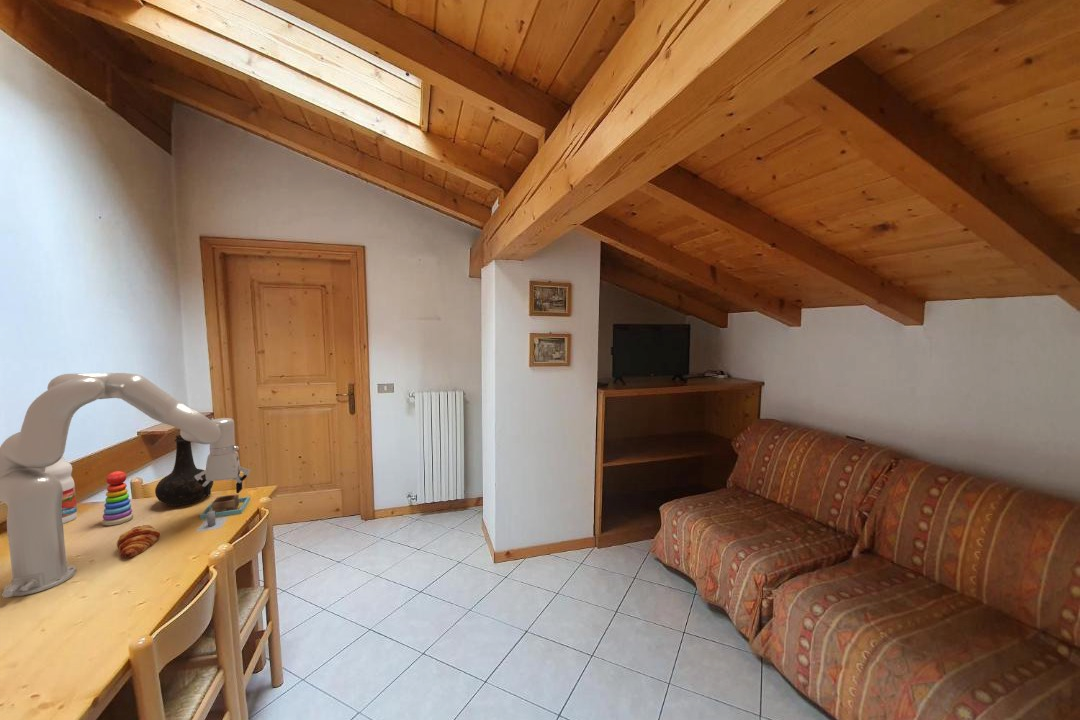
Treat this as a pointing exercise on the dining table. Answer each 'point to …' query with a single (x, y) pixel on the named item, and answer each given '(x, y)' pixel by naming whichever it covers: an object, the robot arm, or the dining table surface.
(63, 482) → the fruit juice
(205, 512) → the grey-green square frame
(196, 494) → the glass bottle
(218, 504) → the collar
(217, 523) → the stake
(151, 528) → the croissant
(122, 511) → the stacking toy
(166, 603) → the dining table surface
